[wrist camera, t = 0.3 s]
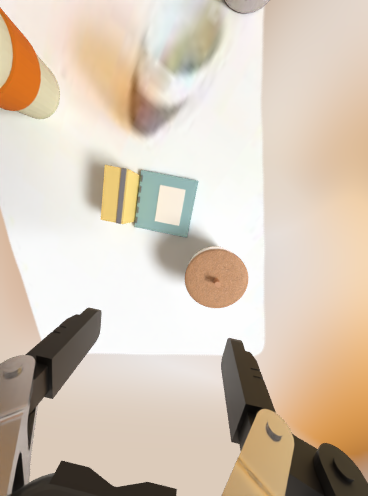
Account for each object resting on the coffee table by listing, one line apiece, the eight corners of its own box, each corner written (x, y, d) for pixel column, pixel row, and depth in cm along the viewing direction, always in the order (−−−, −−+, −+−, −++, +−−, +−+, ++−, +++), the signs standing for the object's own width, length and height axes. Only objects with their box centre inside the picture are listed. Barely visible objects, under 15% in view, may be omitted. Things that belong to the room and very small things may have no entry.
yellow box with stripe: (120, 172, 34) (104, 164, 28) (140, 175, 34) (128, 169, 28) (116, 217, 36) (100, 219, 30) (134, 221, 36) (122, 224, 30)
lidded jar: (248, 262, 36) (266, 280, 27) (215, 297, 38) (220, 325, 29) (209, 230, 35) (213, 238, 26) (177, 268, 38) (170, 288, 29)
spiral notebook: (142, 170, 34) (141, 169, 33) (198, 181, 33) (198, 180, 32) (135, 226, 36) (134, 226, 35) (187, 236, 36) (186, 237, 35)
